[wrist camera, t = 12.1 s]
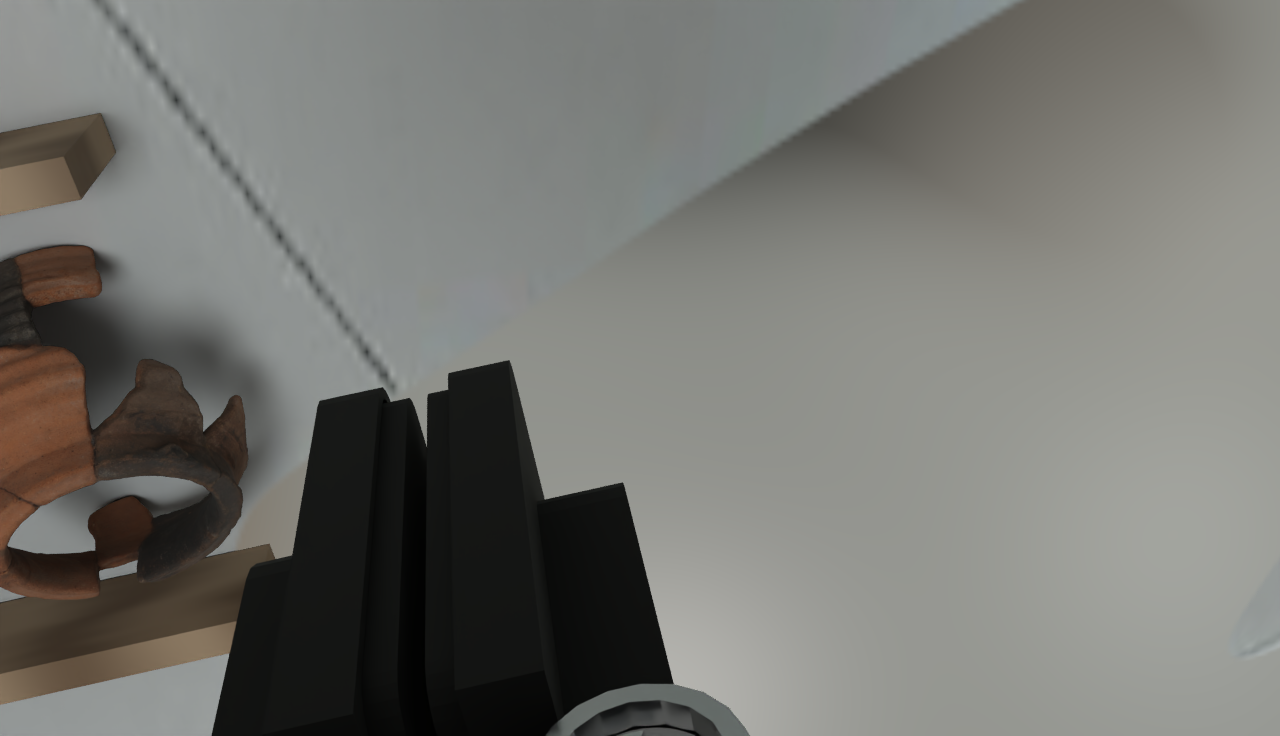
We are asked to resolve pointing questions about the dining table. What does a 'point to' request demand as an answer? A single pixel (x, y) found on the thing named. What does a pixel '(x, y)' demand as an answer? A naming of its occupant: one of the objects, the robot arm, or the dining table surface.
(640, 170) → the dining table surface
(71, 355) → the brown wooden sculpture
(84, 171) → the u-shaped wooden frame
